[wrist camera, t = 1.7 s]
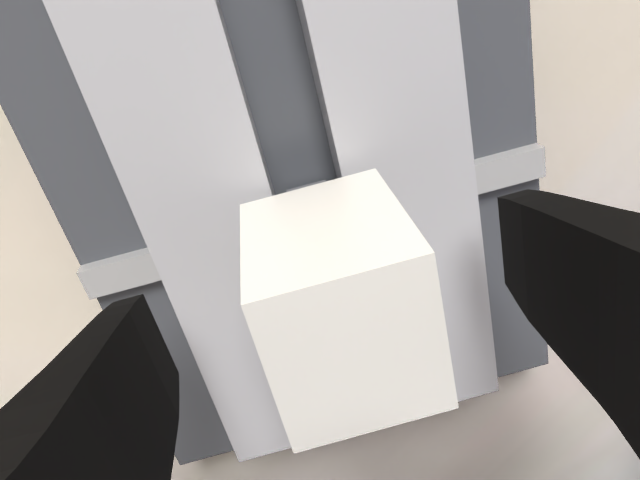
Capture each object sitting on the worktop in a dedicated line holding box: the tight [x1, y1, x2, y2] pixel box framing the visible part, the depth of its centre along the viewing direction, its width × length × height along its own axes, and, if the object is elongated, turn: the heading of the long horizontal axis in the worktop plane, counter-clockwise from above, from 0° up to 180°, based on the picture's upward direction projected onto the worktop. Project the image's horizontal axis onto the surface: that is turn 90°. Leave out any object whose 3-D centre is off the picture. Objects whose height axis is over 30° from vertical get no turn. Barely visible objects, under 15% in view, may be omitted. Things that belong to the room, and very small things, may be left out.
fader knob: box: [240, 168, 459, 454], centre depth 12 cm, size 3×3×6 cm
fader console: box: [0, 0, 548, 465], centre depth 12 cm, size 24×12×3 cm, turn 13°
